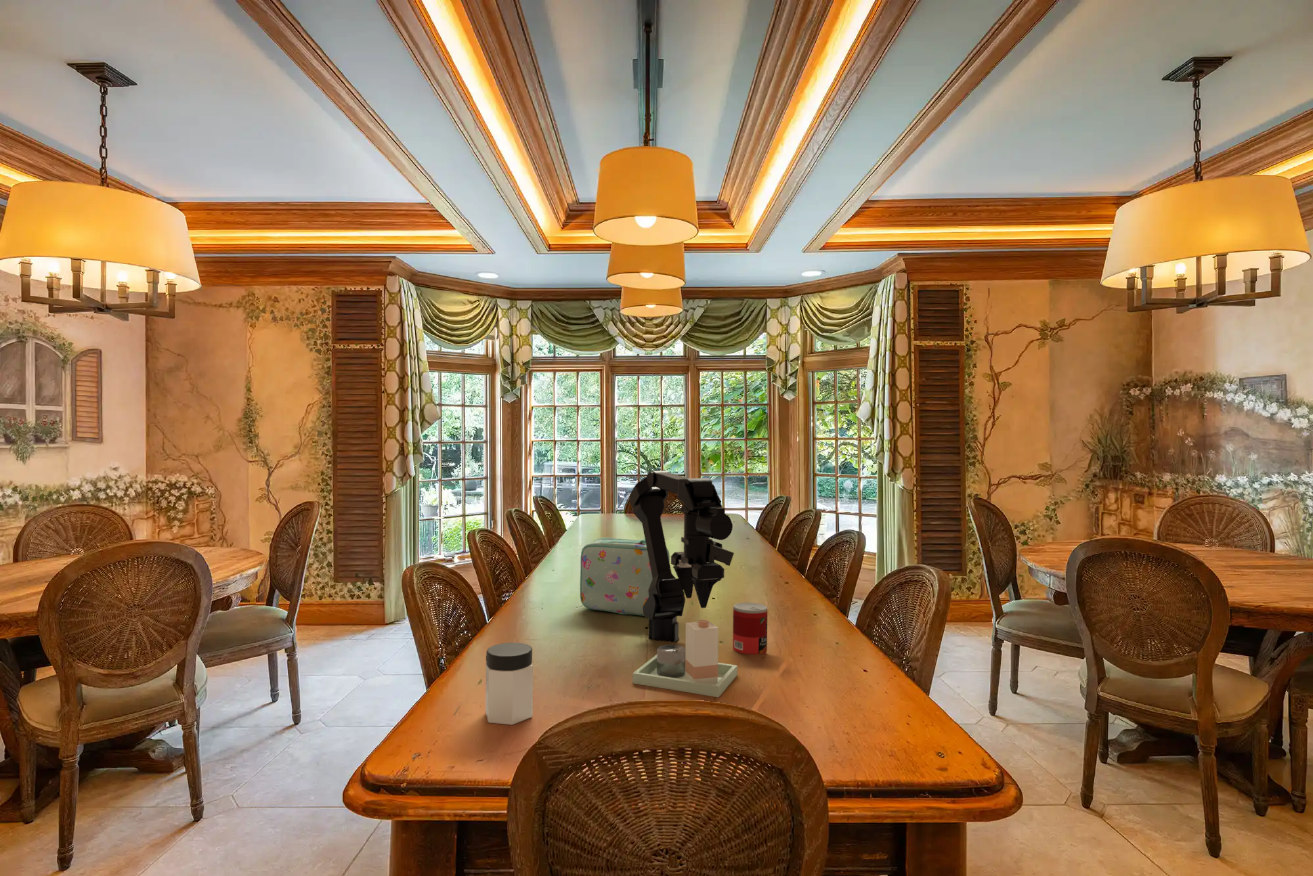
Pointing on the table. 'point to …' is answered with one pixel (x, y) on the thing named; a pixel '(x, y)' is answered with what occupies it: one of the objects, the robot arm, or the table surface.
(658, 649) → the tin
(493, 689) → the jar
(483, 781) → the table surface
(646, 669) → the tray
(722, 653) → the table surface
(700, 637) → the oat carton
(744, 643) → the canned food
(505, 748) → the table surface
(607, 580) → the lunch box
